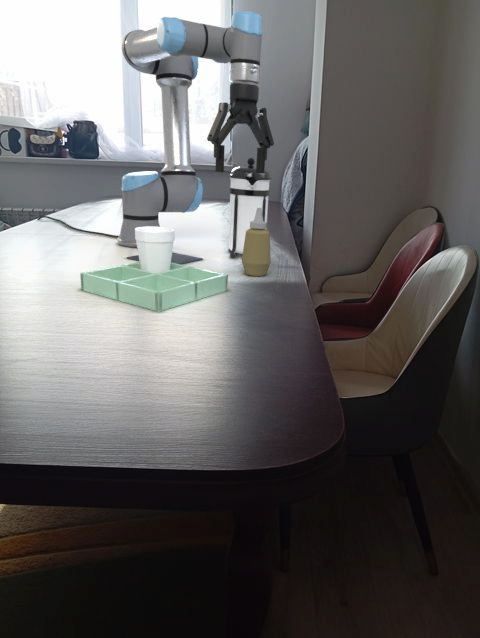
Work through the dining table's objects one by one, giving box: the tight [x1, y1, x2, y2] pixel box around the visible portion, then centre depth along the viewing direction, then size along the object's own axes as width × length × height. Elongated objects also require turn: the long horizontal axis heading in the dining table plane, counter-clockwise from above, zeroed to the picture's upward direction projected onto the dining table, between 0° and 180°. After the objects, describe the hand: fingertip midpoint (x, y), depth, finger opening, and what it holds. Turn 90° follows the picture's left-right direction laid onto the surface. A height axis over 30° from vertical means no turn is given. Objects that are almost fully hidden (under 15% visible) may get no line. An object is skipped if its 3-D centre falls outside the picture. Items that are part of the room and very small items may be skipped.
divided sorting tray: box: [79, 261, 229, 313], centre depth 121 cm, size 24×24×4 cm
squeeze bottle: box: [241, 208, 272, 277], centre depth 140 cm, size 8×8×18 cm
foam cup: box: [135, 226, 176, 273], centre depth 126 cm, size 10×9×13 cm
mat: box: [126, 251, 204, 265], centre depth 155 cm, size 16×16×1 cm
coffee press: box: [227, 157, 272, 259], centre depth 164 cm, size 17×16×30 cm
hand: (240, 172), depth 138 cm, fingers open, 13 cm apart
